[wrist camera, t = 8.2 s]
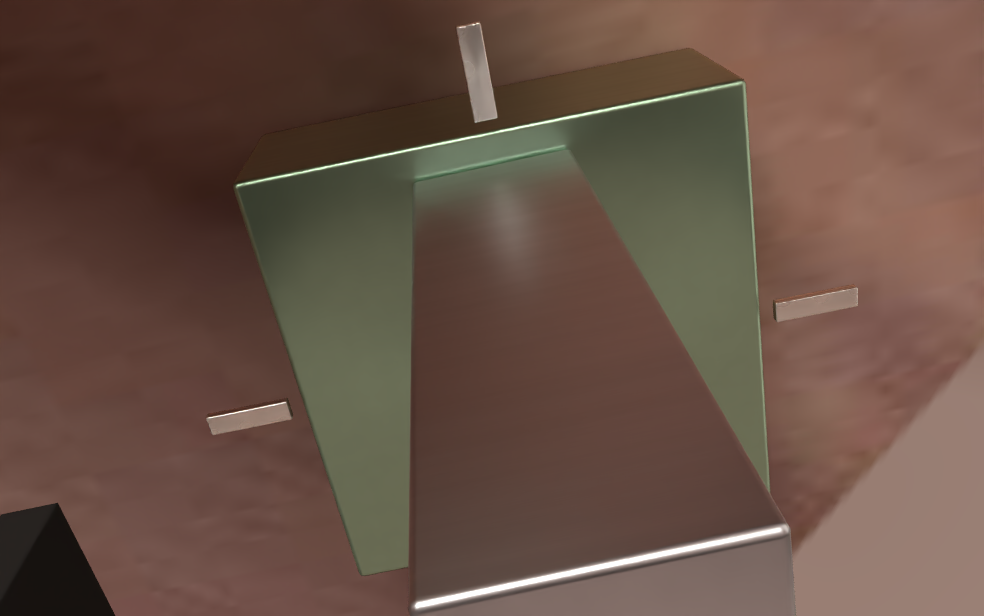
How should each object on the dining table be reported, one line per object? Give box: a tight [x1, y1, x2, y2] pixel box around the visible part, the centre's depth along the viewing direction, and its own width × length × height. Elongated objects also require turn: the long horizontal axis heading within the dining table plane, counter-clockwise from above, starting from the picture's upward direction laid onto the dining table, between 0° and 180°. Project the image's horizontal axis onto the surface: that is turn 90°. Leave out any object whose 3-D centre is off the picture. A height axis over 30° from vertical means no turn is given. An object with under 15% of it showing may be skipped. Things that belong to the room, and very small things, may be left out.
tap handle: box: [408, 149, 796, 616], centre depth 11 cm, size 7×2×9 cm, turn 11°
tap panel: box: [206, 21, 858, 576], centre depth 17 cm, size 11×11×3 cm
